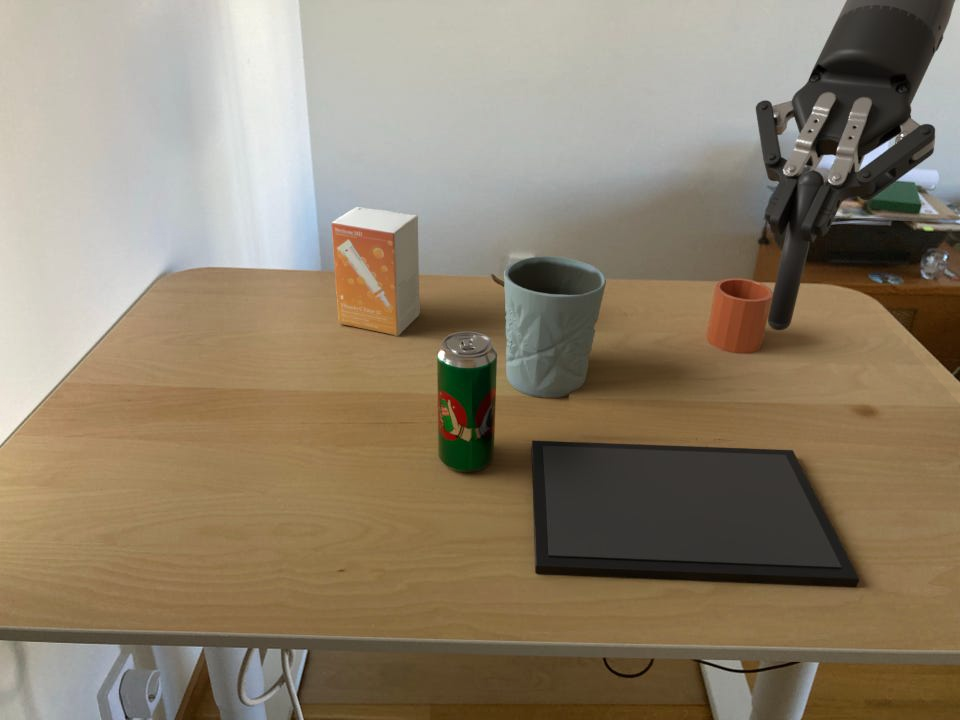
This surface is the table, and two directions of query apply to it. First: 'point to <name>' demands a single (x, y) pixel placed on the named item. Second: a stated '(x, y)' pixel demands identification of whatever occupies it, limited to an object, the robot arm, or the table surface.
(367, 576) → the table surface
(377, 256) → the small box
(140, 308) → the table surface
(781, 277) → the stylus
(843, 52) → the robot arm
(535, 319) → the embossed blue-green cup
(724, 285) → the pen pot
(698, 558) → the tablet
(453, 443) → the soda can
